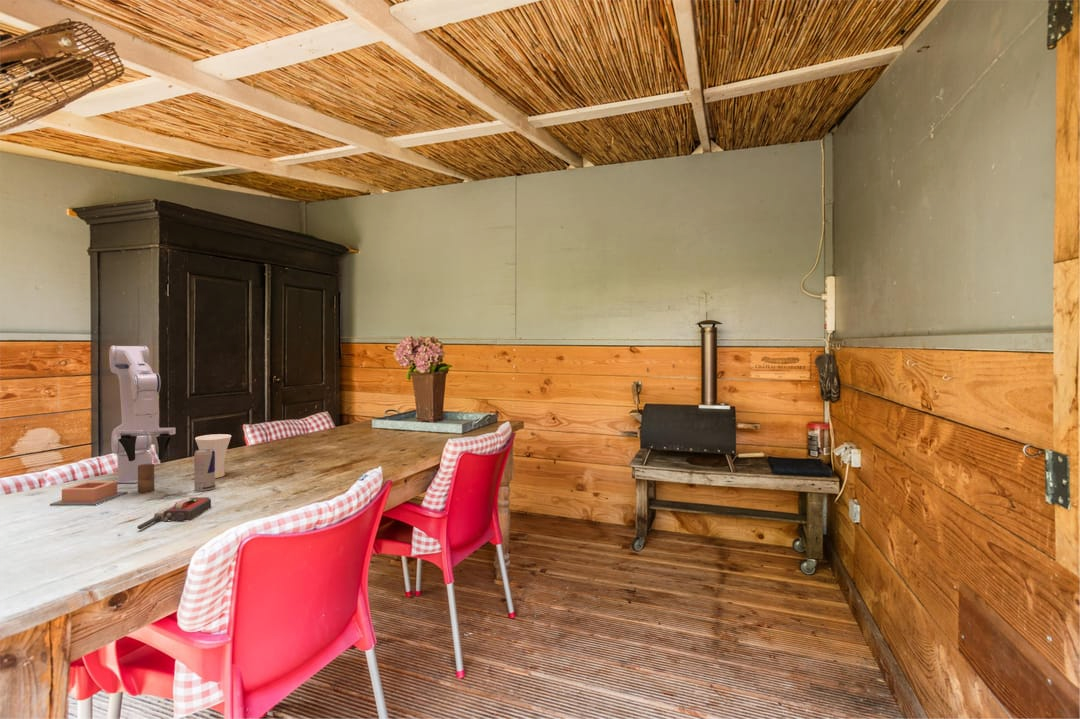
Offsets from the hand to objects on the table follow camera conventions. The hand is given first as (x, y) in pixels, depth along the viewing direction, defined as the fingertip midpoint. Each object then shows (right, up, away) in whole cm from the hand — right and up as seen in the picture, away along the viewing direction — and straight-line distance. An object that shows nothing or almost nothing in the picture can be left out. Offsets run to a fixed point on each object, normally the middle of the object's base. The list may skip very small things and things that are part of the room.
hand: (146, 459), depth 155 cm
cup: (+6, -10, +22) cm, 25 cm away
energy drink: (+13, -10, +6) cm, 18 cm away
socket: (-12, -10, -6) cm, 17 cm away
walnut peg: (-2, -10, +3) cm, 11 cm away
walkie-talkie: (+23, -12, -20) cm, 33 cm away
